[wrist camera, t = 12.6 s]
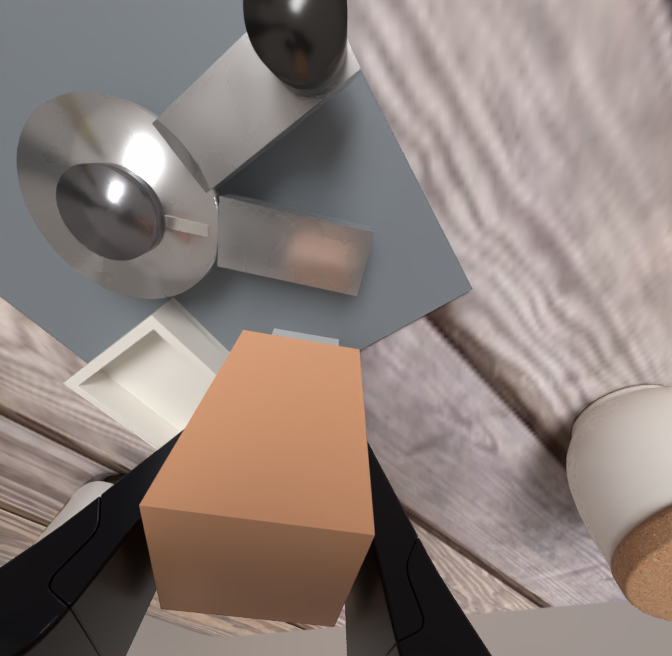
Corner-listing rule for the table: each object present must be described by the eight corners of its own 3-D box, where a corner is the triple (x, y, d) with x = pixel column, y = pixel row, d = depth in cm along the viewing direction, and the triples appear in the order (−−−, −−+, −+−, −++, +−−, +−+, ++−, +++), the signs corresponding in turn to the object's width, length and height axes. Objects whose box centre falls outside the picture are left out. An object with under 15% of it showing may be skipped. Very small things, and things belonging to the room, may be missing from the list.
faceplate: (192, 439, 24) (172, 477, 21) (-157, 169, 15) (-273, 173, 12) (470, 286, 17) (495, 313, 14) (131, -377, 8) (17, -657, 5)
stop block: (239, 416, 12) (160, 609, 7) (243, 329, 10) (139, 505, 5) (338, 430, 13) (334, 627, 7) (359, 349, 11) (374, 535, 5)
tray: (185, 433, 24) (170, 459, 22) (91, 360, 20) (63, 383, 18) (266, 388, 21) (257, 412, 19) (173, 297, 18) (151, 315, 16)
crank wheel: (65, 270, 15) (-17, 304, 12) (-25, -116, 9) (-244, -273, 6) (344, 328, 17) (344, 374, 13) (428, 19, 11) (469, -46, 7)
